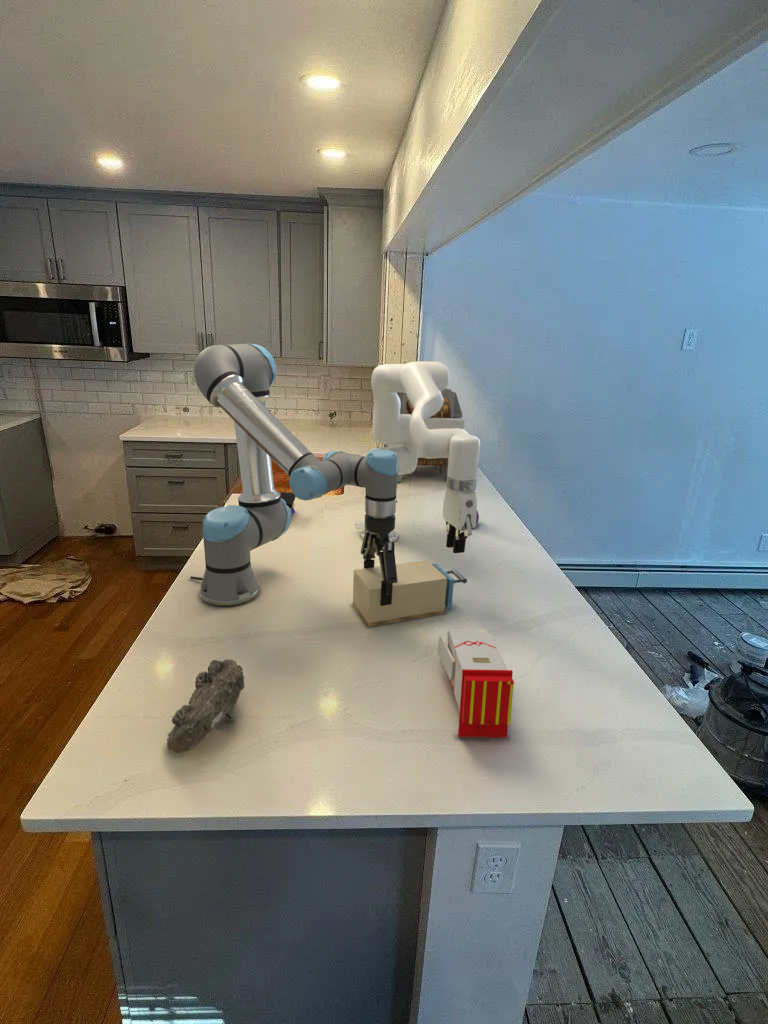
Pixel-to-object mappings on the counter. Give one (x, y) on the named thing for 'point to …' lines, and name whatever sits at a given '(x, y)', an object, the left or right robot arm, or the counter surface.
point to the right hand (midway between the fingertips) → (455, 549)
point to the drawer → (450, 583)
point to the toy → (478, 682)
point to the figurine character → (289, 500)
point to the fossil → (206, 705)
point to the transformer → (435, 425)
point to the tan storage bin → (400, 593)
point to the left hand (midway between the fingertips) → (376, 593)
